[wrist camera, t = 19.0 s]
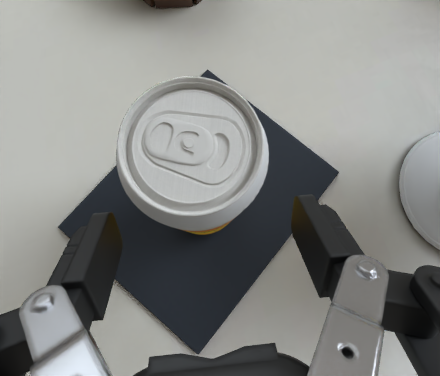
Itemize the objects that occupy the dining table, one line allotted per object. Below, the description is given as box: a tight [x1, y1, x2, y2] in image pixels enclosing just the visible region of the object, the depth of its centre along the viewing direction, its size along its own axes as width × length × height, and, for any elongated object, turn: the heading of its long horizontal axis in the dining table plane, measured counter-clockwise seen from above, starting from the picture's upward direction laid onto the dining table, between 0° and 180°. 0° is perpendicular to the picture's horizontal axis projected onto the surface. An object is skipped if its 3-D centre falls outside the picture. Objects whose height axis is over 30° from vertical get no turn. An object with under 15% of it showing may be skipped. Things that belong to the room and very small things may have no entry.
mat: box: [58, 70, 339, 354], centre depth 25 cm, size 20×16×1 cm
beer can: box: [116, 76, 269, 235], centre depth 17 cm, size 6×6×15 cm
